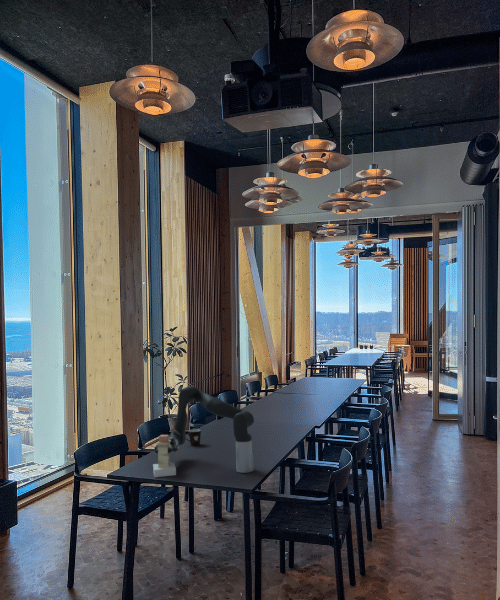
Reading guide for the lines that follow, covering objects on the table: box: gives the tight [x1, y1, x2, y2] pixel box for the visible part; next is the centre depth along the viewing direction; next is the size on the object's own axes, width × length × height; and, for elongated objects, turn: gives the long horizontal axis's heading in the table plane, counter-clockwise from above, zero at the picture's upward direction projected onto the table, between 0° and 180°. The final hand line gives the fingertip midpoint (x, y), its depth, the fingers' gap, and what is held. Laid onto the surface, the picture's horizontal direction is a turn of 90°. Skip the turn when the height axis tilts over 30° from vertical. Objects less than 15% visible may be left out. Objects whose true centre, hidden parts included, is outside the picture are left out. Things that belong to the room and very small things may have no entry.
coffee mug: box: [185, 428, 202, 447], centre depth 347 cm, size 12×9×10 cm
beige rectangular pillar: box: [156, 440, 171, 467], centre depth 283 cm, size 6×6×14 cm
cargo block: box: [158, 434, 170, 442], centre depth 283 cm, size 4×4×3 cm
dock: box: [152, 461, 177, 478], centre depth 282 cm, size 12×12×4 cm
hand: (162, 451), depth 280 cm, fingers open, 6 cm apart
